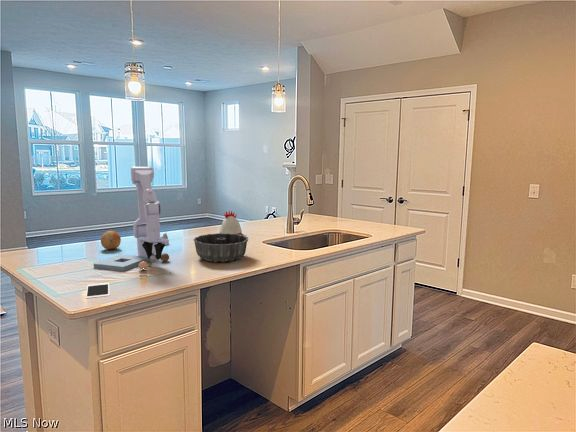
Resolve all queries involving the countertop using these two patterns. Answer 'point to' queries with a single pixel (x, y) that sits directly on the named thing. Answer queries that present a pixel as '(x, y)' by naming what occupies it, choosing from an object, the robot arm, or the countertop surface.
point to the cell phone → (97, 290)
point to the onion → (110, 240)
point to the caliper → (164, 236)
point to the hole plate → (121, 262)
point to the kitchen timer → (230, 225)
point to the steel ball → (153, 258)
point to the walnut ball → (164, 257)
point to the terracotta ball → (143, 265)
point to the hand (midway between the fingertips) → (154, 258)
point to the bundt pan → (221, 247)
